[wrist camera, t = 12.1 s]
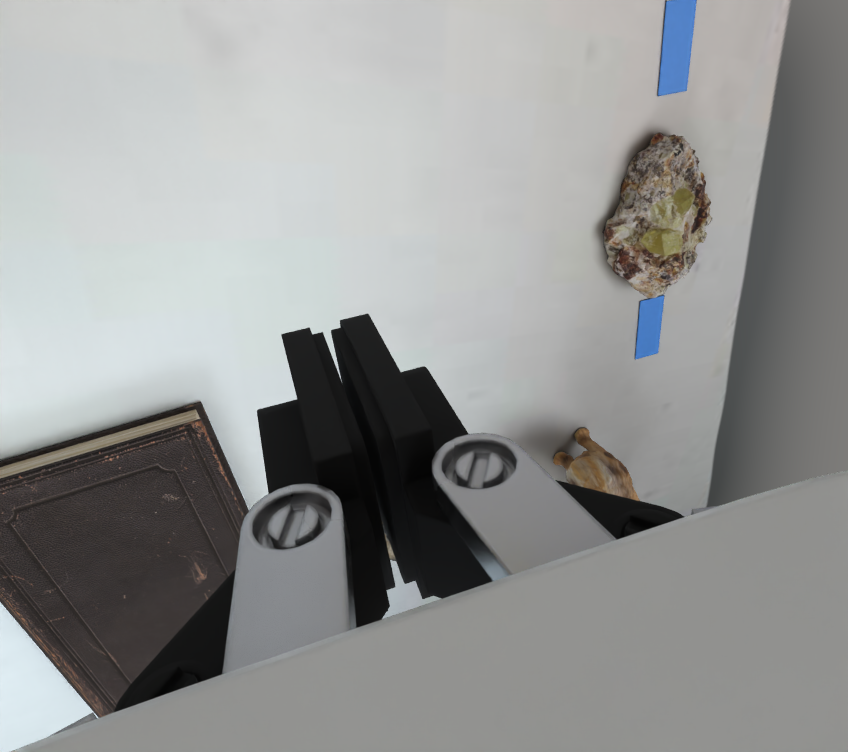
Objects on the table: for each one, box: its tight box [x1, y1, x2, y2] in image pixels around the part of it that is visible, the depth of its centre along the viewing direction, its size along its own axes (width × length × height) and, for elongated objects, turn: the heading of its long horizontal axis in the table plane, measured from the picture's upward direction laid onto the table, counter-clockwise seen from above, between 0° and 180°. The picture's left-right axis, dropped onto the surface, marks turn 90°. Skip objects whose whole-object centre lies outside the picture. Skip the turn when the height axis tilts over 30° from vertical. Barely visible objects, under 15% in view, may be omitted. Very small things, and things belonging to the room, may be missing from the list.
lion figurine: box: [553, 428, 640, 501], centre depth 49 cm, size 15×5×9 cm, turn 45°
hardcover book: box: [0, 402, 249, 718], centre depth 43 cm, size 16×23×2 cm
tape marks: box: [635, 0, 697, 359], centre depth 42 cm, size 24×2×1 cm, turn 7°
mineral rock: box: [603, 133, 712, 298], centre depth 41 cm, size 11×4×8 cm
